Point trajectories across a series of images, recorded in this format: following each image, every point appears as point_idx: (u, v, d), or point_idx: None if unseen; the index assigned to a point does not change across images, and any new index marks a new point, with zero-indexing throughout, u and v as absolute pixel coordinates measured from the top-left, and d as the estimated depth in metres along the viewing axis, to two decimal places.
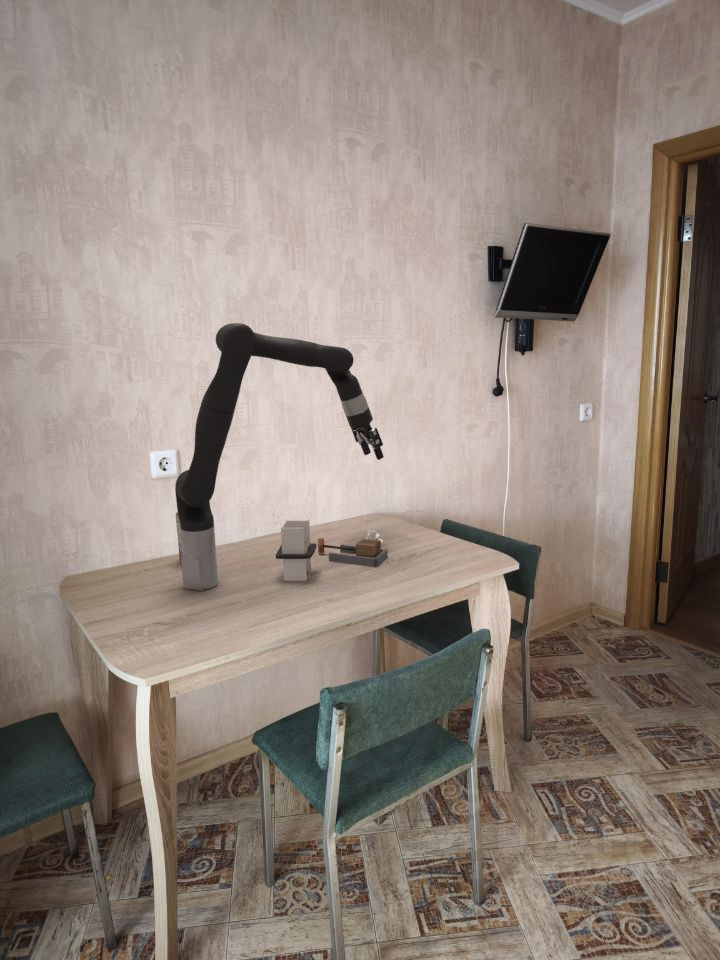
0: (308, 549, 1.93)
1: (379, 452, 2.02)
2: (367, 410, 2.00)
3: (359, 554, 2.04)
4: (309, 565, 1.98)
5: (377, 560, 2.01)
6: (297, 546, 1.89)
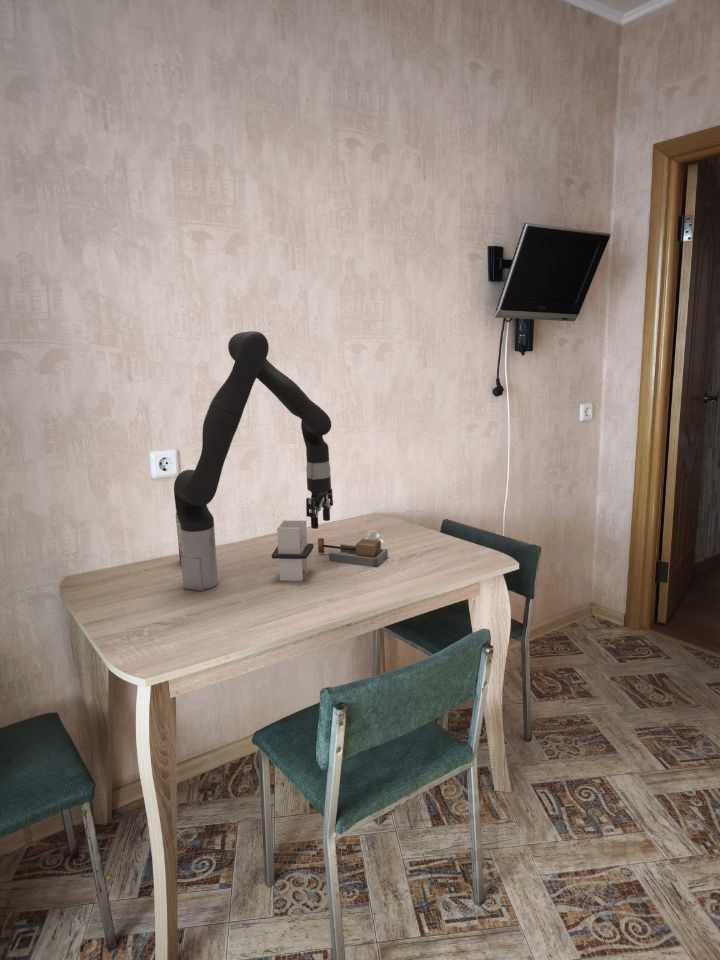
0: (304, 549, 1.93)
1: (312, 521, 2.06)
2: (319, 480, 2.04)
3: (359, 554, 2.04)
4: (306, 565, 1.98)
5: (377, 560, 2.01)
6: (293, 546, 1.89)
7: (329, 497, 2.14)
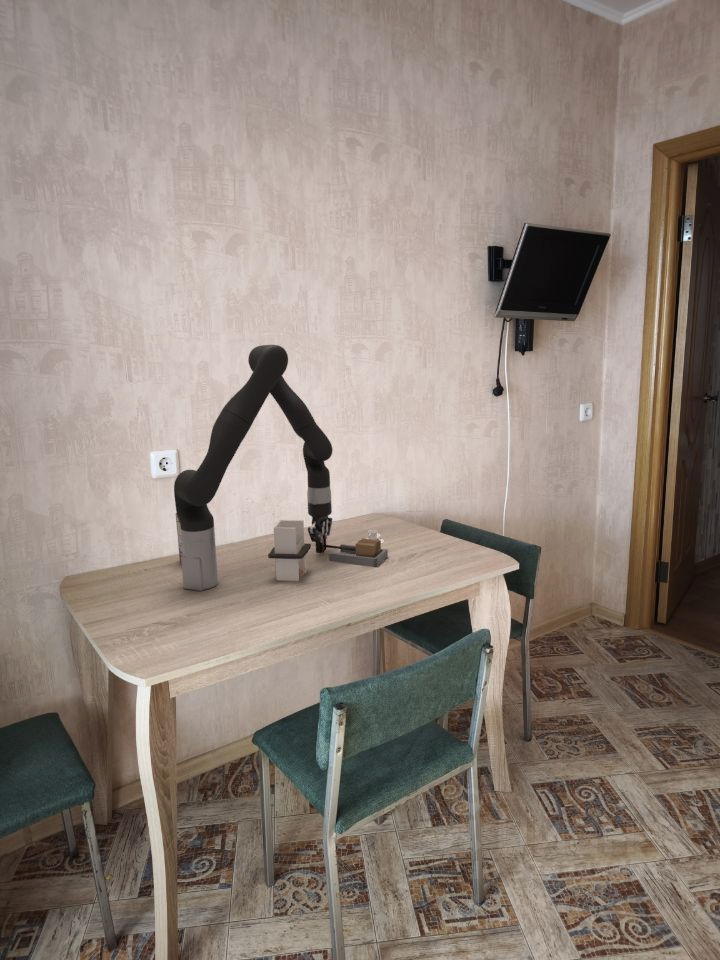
0: (301, 549, 1.93)
1: (317, 546, 2.10)
2: (320, 505, 2.06)
3: (358, 554, 2.04)
4: (303, 565, 1.98)
5: (377, 560, 2.01)
6: (289, 546, 1.89)
7: (327, 526, 2.15)
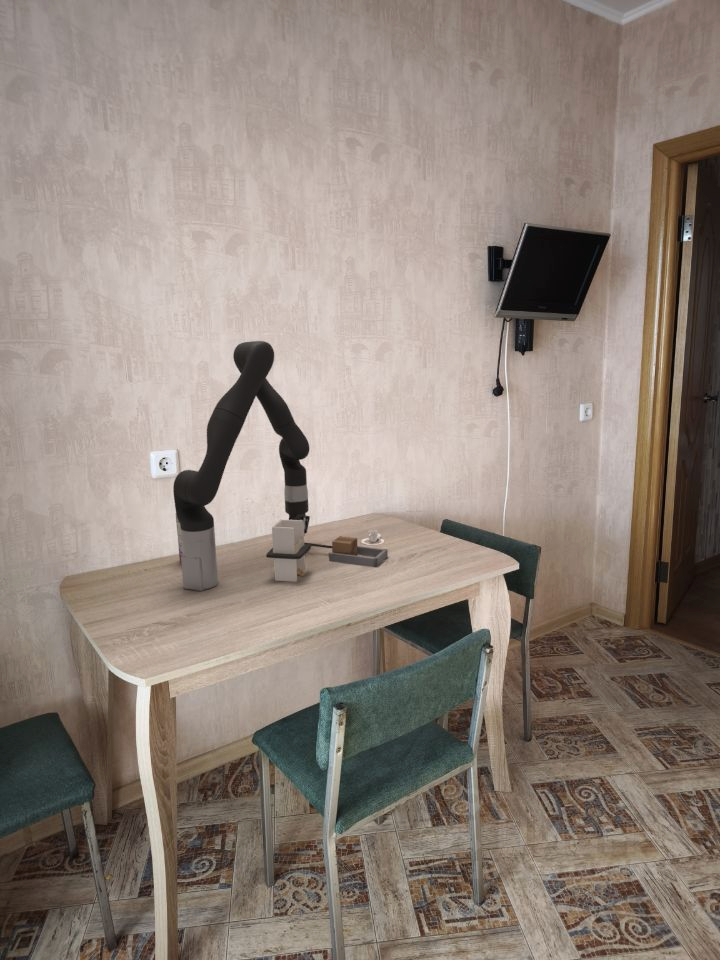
0: (300, 549, 1.92)
1: None
2: (296, 503, 2.09)
3: (335, 552, 2.07)
4: (303, 565, 1.97)
5: (377, 560, 2.01)
6: (287, 546, 1.89)
7: (305, 523, 2.18)
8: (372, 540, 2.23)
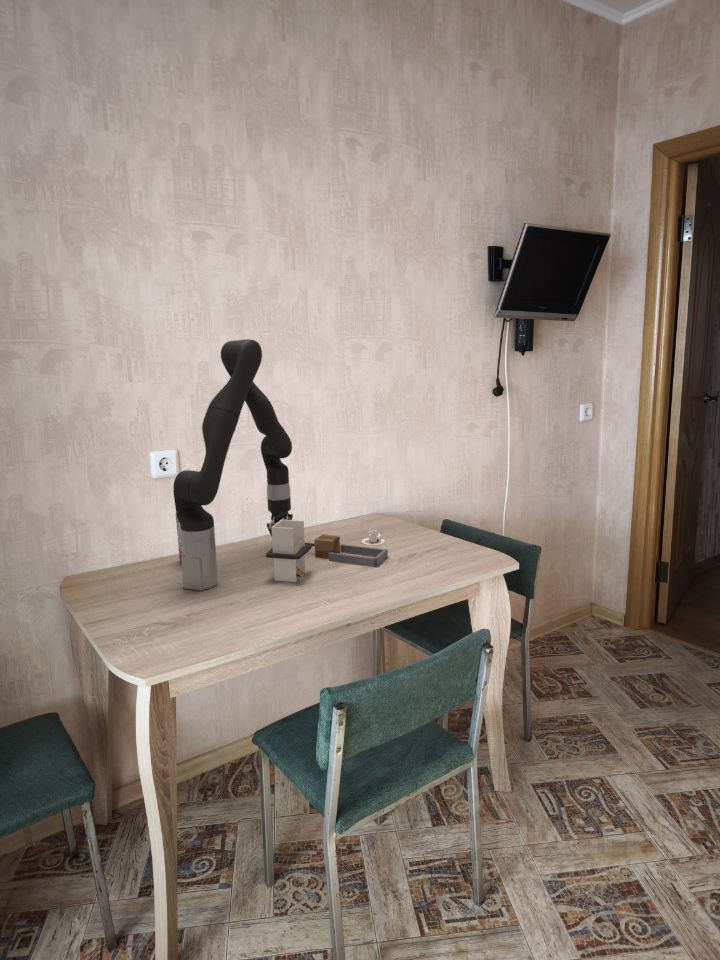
0: (300, 550, 1.92)
1: None
2: (279, 501, 2.11)
3: (317, 550, 2.10)
4: (303, 566, 1.97)
5: (377, 560, 2.01)
6: (287, 546, 1.89)
7: None
8: (372, 540, 2.23)
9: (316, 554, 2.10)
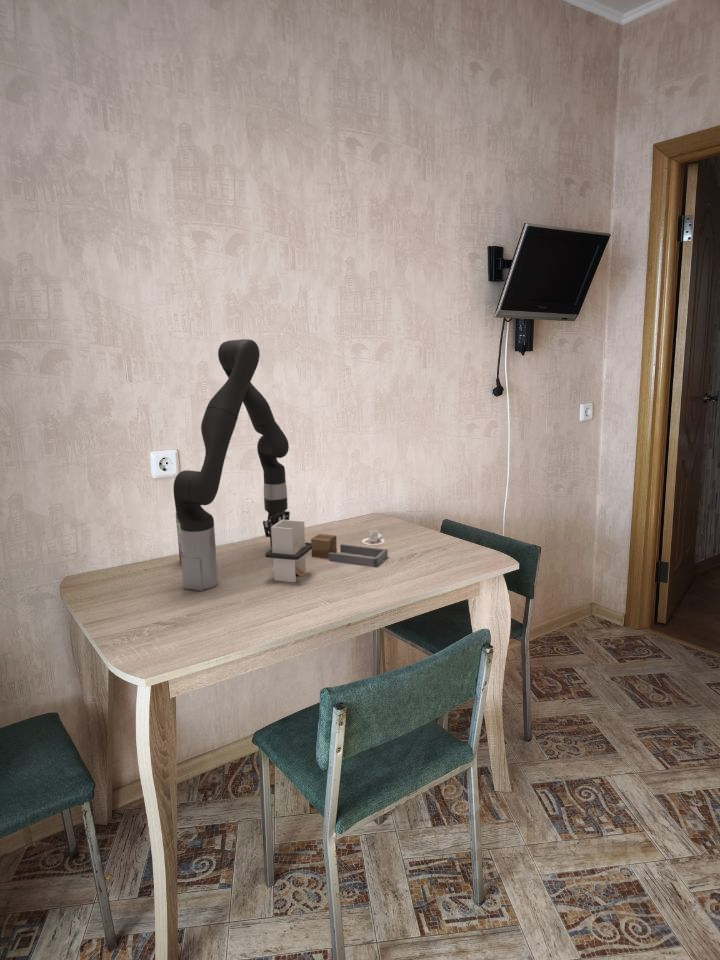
0: (300, 550, 1.92)
1: (271, 542, 2.15)
2: (275, 501, 2.12)
3: (314, 549, 2.10)
4: (304, 566, 1.96)
5: (377, 560, 2.01)
6: (286, 546, 1.88)
7: None
8: (373, 540, 2.23)
9: (313, 553, 2.11)
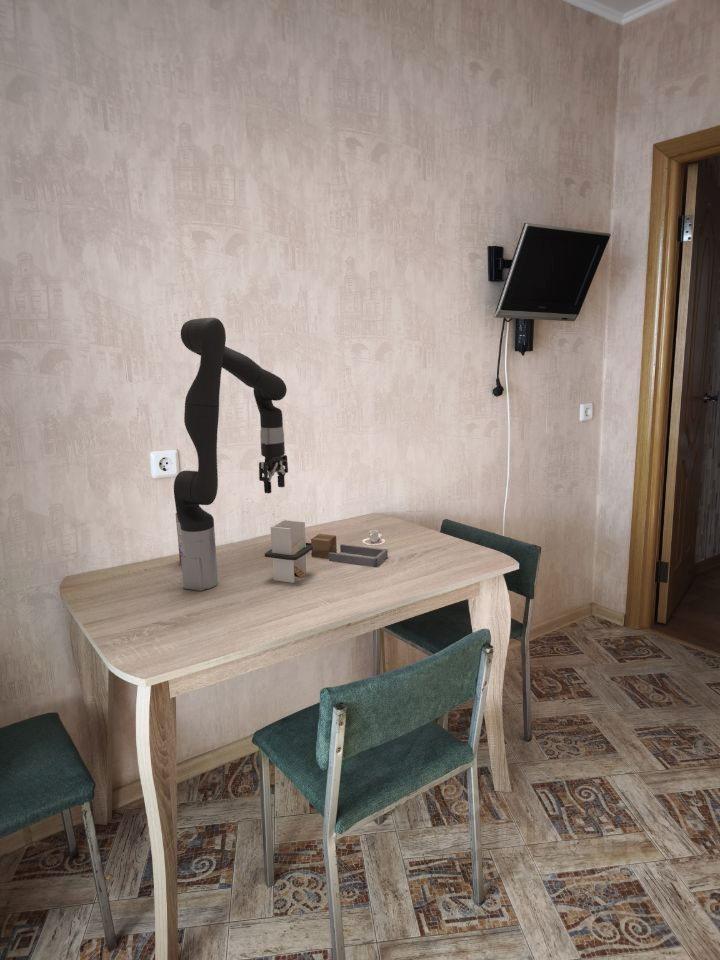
0: (300, 550, 1.91)
1: (265, 486, 2.09)
2: (272, 445, 2.08)
3: (314, 549, 2.10)
4: (304, 567, 1.96)
5: (377, 560, 2.01)
6: (285, 546, 1.88)
7: (284, 464, 2.18)
8: (373, 540, 2.23)
9: (313, 553, 2.11)
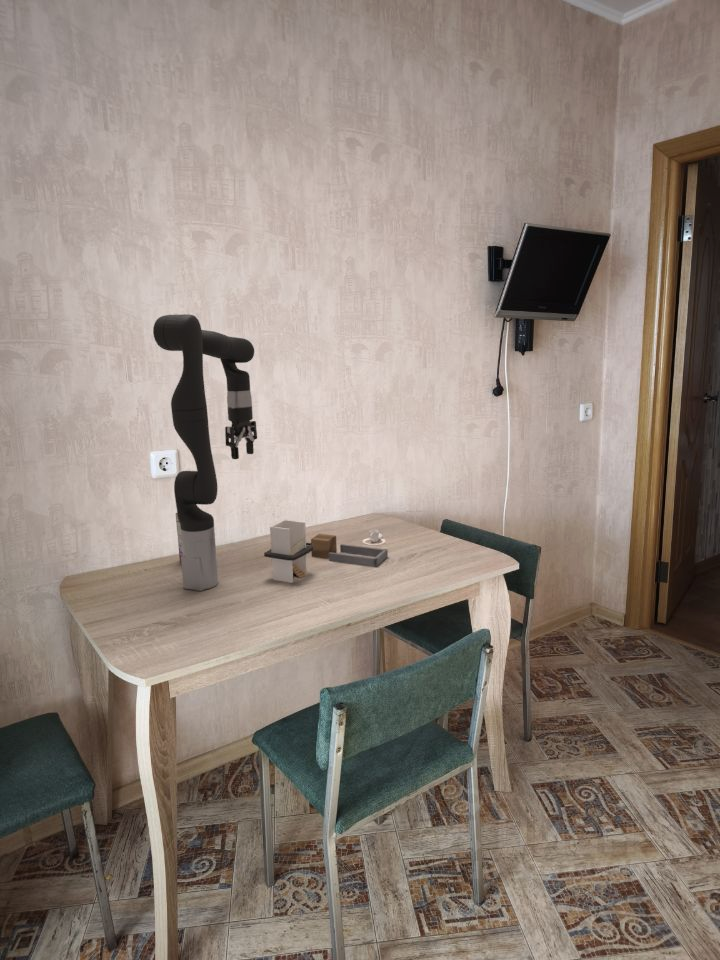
0: (299, 551, 1.91)
1: (232, 451, 2.03)
2: (239, 409, 2.01)
3: (314, 549, 2.10)
4: (305, 567, 1.95)
5: (377, 560, 2.01)
6: (284, 547, 1.88)
7: (253, 430, 2.12)
8: (373, 540, 2.23)
9: (313, 553, 2.11)
